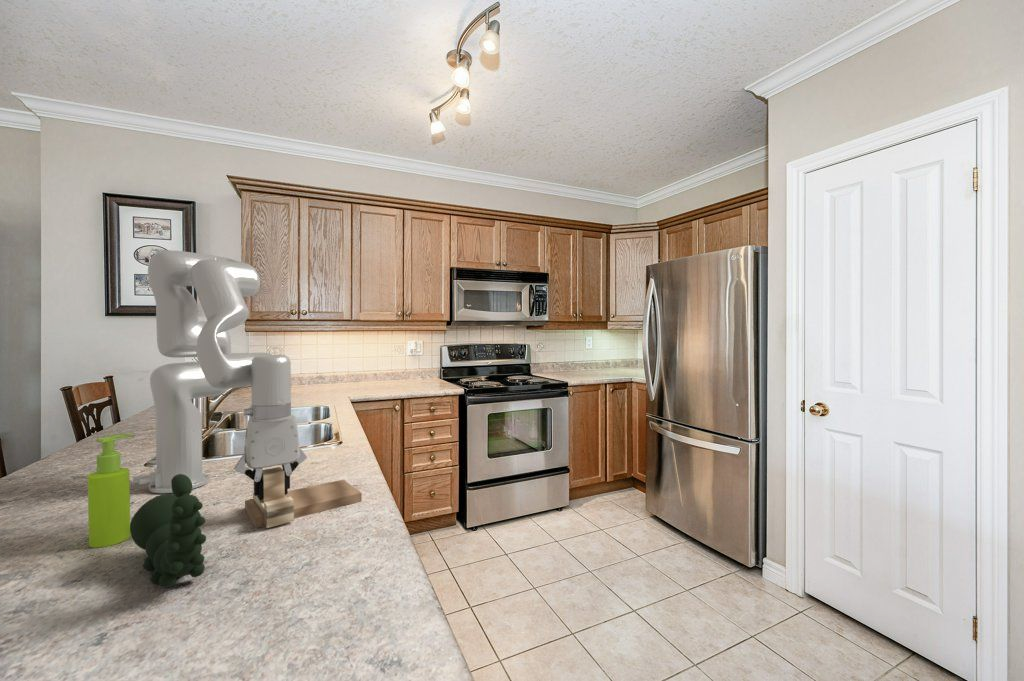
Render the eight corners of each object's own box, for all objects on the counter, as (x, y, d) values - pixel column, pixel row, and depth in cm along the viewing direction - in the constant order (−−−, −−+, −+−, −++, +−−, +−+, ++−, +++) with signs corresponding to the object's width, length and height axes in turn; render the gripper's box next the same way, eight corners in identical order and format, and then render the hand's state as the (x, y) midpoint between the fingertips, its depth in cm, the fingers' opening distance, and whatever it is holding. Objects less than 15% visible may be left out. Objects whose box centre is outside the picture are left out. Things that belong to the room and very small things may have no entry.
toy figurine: (223, 593, 71) (186, 530, 88) (225, 479, 69) (187, 437, 86) (148, 621, 64) (123, 547, 81) (148, 495, 62) (123, 447, 79)
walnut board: (255, 527, 90) (255, 518, 90) (244, 509, 99) (244, 500, 99) (361, 501, 105) (361, 492, 105) (343, 487, 114) (343, 479, 114)
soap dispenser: (143, 533, 88) (142, 433, 87) (101, 549, 81) (99, 441, 80) (124, 529, 89) (122, 430, 89) (81, 544, 83) (79, 438, 82)
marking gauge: (266, 527, 89) (266, 482, 89) (252, 505, 100) (252, 465, 100) (293, 521, 92) (293, 477, 92) (277, 500, 103) (276, 461, 103)
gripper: (228, 419, 87) (229, 511, 88) (317, 409, 98) (317, 491, 99) (223, 413, 93) (224, 499, 94) (307, 405, 104) (308, 482, 105)
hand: (272, 494), depth 96 cm, fingers closed on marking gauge, 4 cm apart
